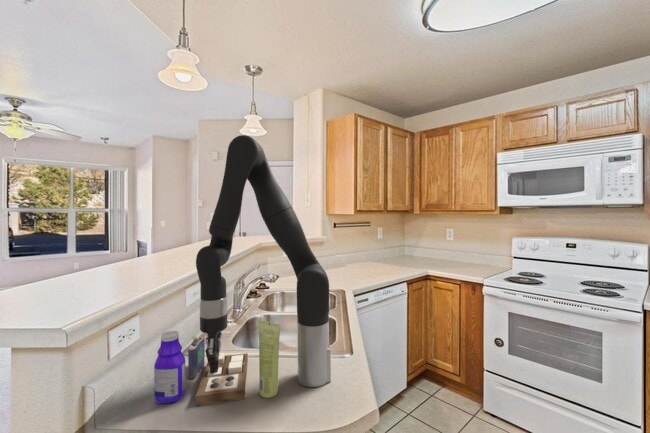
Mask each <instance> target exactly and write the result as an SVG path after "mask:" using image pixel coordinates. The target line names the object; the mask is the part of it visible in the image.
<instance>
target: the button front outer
mask: <svg viewBox="0 0 650 433" xmlns="http://www.w3.org/2000/svg"><path fill="white" fill-rule="evenodd" d="M220 375H222V367H219V368H218V372H215V373H210V369H209V372H208V375H207V377H212V376H220Z"/></svg>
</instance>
